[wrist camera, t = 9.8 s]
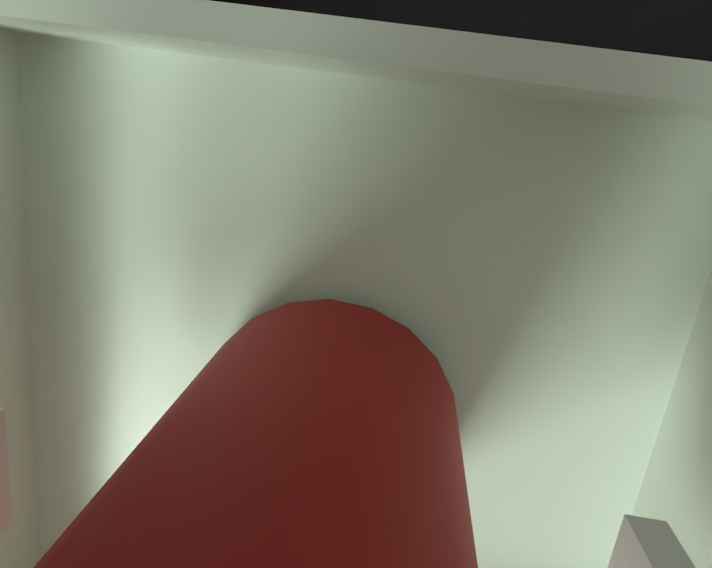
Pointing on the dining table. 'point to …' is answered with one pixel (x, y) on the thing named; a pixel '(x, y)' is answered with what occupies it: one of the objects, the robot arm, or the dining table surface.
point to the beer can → (292, 458)
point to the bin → (361, 247)
